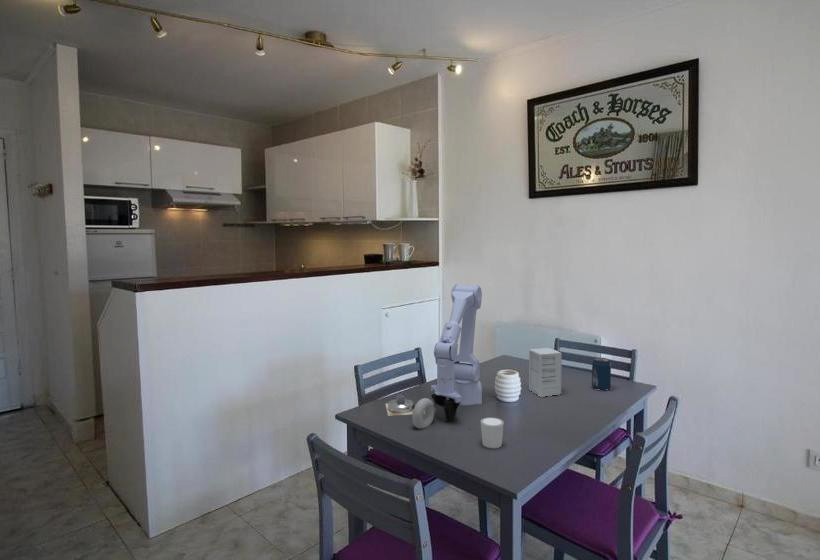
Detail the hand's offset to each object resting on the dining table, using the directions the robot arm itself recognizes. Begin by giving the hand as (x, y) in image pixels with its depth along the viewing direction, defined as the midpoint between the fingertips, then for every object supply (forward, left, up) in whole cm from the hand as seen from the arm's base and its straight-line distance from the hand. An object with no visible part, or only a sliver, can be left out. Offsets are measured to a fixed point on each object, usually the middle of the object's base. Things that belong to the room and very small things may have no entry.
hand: (446, 417), depth 159 cm
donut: (+8, +5, -2) cm, 10 cm away
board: (+8, -11, -1) cm, 14 cm away
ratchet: (+8, -11, 0) cm, 14 cm away
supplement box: (-44, -22, -2) cm, 49 cm away
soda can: (-68, -23, -2) cm, 72 cm away
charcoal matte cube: (0, 0, -1) cm, 1 cm away
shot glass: (-10, +19, -2) cm, 22 cm away
